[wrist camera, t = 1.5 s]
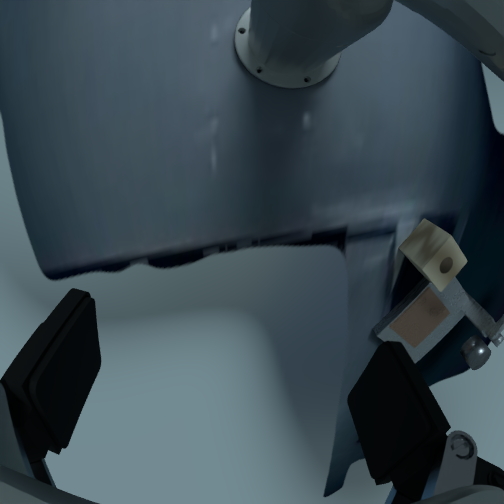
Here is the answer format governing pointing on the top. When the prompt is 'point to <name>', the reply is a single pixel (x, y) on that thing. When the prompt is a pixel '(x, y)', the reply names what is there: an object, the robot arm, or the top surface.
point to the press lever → (479, 349)
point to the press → (433, 317)
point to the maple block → (434, 254)
